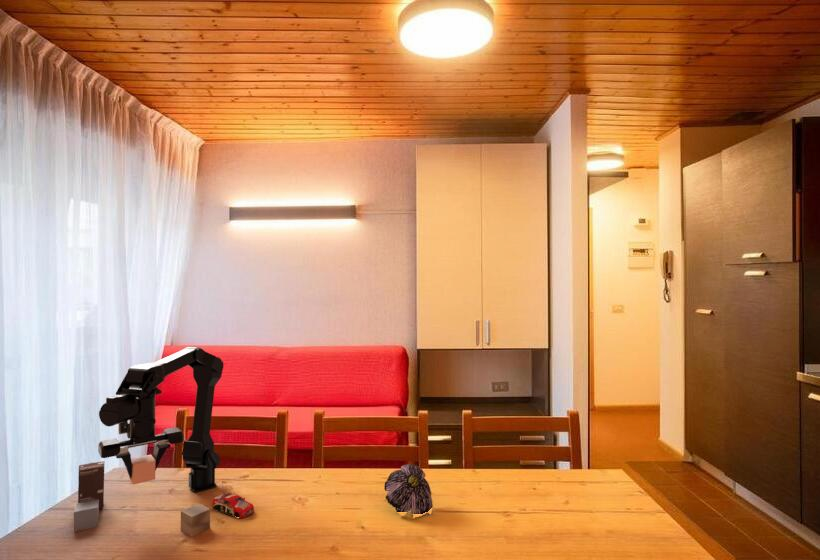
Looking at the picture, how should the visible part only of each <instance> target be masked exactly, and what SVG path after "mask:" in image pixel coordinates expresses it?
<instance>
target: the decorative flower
mask: <svg viewBox="0 0 820 560" xmlns="http://www.w3.org/2000/svg"><path fill="white" fill-rule="evenodd" d="M383 487H384V489H383V490H384V491H385V492H387V494H386V496H385V500H387V501H386V502H387V504H388V505H390V506H392V507H393V508H395V511H396V512H408V511H409V512H410V510H411V515H412V514H423V513H425V512H428V511H429V510H430V509H431V508H432V507H433V508H434V506H433V504H434V503H433V499H432V491H431V486H430V484H429V482H428V481H427V480H426V473H425V472H424V470H423V469H422V468H421V467H420V466H418V465H416V464H411V463H409V464H403V465H401V466H400V469H396V470H394V471H393V472H391V473H390V474H389V476H388V477H387V479H386V481H385V482H384V486H383ZM409 512H408V513H409Z"/></svg>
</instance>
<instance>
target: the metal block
mask: <svg viewBox="0 0 820 560" xmlns="http://www.w3.org/2000/svg"><path fill="white" fill-rule="evenodd" d="M208 528H209V529H211V508H209V507H208V506H205V505H203V504H202V503H197V504H195V505H194V504H193V505H191V506H190V507H187V508H185V509H182V510H181V511H180V531H181V532H183V533H184V534H186V535H188V536H190V537H194V536H196V535H198V534H200V533H203V532H205V531H207V530H209V529H208Z"/></svg>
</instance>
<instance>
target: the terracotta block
mask: <svg viewBox="0 0 820 560" xmlns="http://www.w3.org/2000/svg"><path fill="white" fill-rule="evenodd" d="M131 465H132V478H130V477H129V479H130V483H132V485H133V486H134V485H137V484H138V485H139V484H142V483H146V482H150V481H153V480H156V471H155V459H154V458H153V455H152V454H151V453H150V454H147V455H141V456H138V457H131Z"/></svg>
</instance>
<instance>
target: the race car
mask: <svg viewBox="0 0 820 560" xmlns="http://www.w3.org/2000/svg"><path fill="white" fill-rule="evenodd" d="M211 507H212V510H214V511H215V510H218V511H219V513H222V512H223V514H225V513H226V515H228V514H229V515H228V516H231V515H232V516H231V517H235V516H236V517H240V518H239V519H241V517H243V518H246V516H247V517H248V516H251V515H252V514H253V513H254V512H255V506H254V504H253V503H251V502H249V501H248V500H246V497H242V496H240V495H238V494H236V493H230V492H229V493H228V492H227V493H221V494H218V495H217V496H215V497H213V499H212V503H211ZM218 511H217V512H218ZM253 511H254V512H253Z"/></svg>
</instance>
